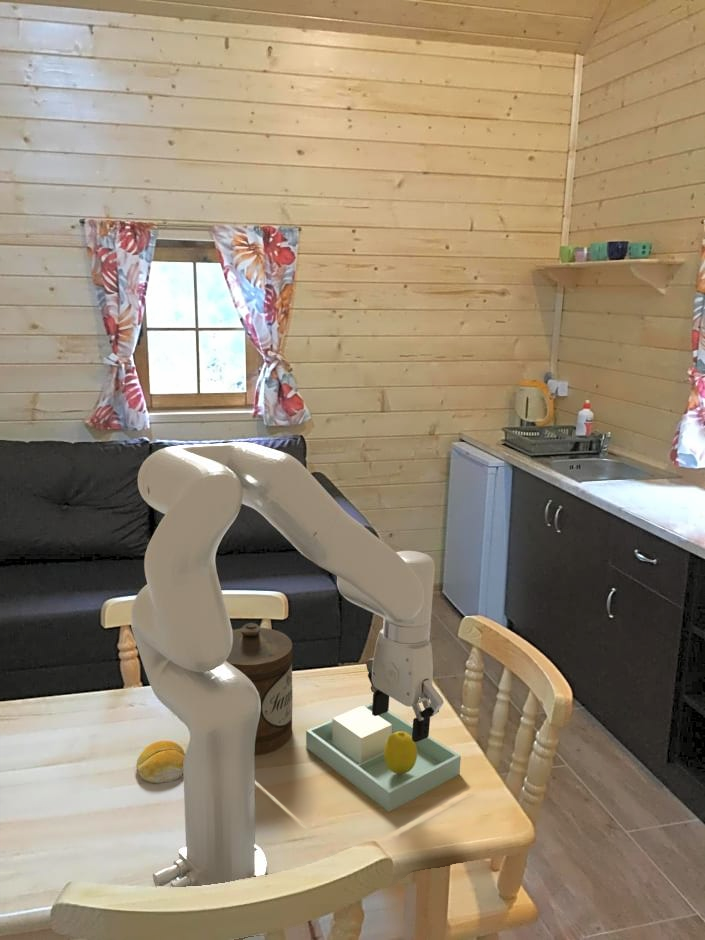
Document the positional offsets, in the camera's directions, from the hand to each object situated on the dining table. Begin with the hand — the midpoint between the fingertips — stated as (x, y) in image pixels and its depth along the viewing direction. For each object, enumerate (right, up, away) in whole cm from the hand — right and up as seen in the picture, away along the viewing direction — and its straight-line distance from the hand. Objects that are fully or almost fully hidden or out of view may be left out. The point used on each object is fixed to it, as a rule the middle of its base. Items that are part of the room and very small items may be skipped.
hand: (399, 725), depth 132 cm
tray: (-3, -9, +7) cm, 11 cm away
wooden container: (-26, -7, +15) cm, 31 cm away
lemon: (0, -9, +3) cm, 10 cm away
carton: (-6, -7, +11) cm, 14 cm away
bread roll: (-40, -9, +5) cm, 41 cm away
